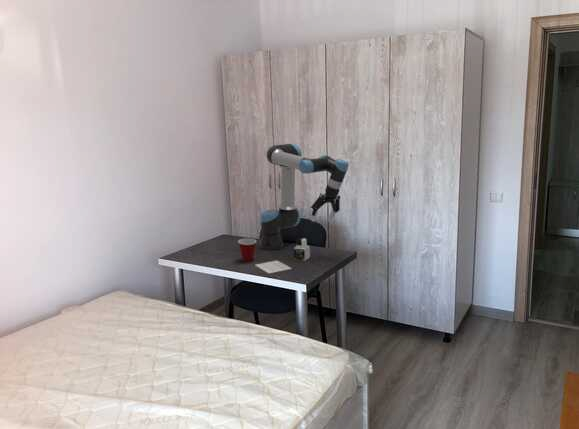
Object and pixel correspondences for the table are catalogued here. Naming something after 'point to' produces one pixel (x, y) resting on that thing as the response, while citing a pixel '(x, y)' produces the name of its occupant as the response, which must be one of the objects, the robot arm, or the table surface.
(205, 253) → the table surface
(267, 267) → the paper
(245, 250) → the plastic cup
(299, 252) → the white blocky tower
